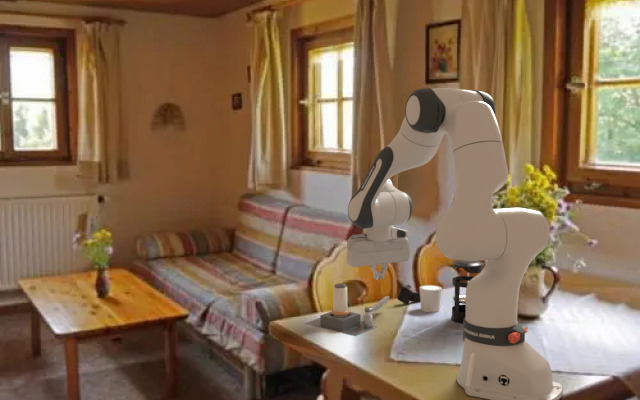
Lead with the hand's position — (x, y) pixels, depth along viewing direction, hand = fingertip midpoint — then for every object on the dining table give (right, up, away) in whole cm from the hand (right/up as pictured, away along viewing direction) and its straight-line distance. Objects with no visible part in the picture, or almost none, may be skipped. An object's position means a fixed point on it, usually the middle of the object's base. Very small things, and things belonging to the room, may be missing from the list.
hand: (378, 278), depth 201 cm
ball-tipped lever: (-1, -8, -6) cm, 10 cm away
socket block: (-12, -13, -11) cm, 21 cm away
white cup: (+16, -11, +7) cm, 21 cm away
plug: (-12, -12, -11) cm, 20 cm away
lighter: (+11, -10, +14) cm, 20 cm away
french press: (+26, -12, -4) cm, 29 cm away
